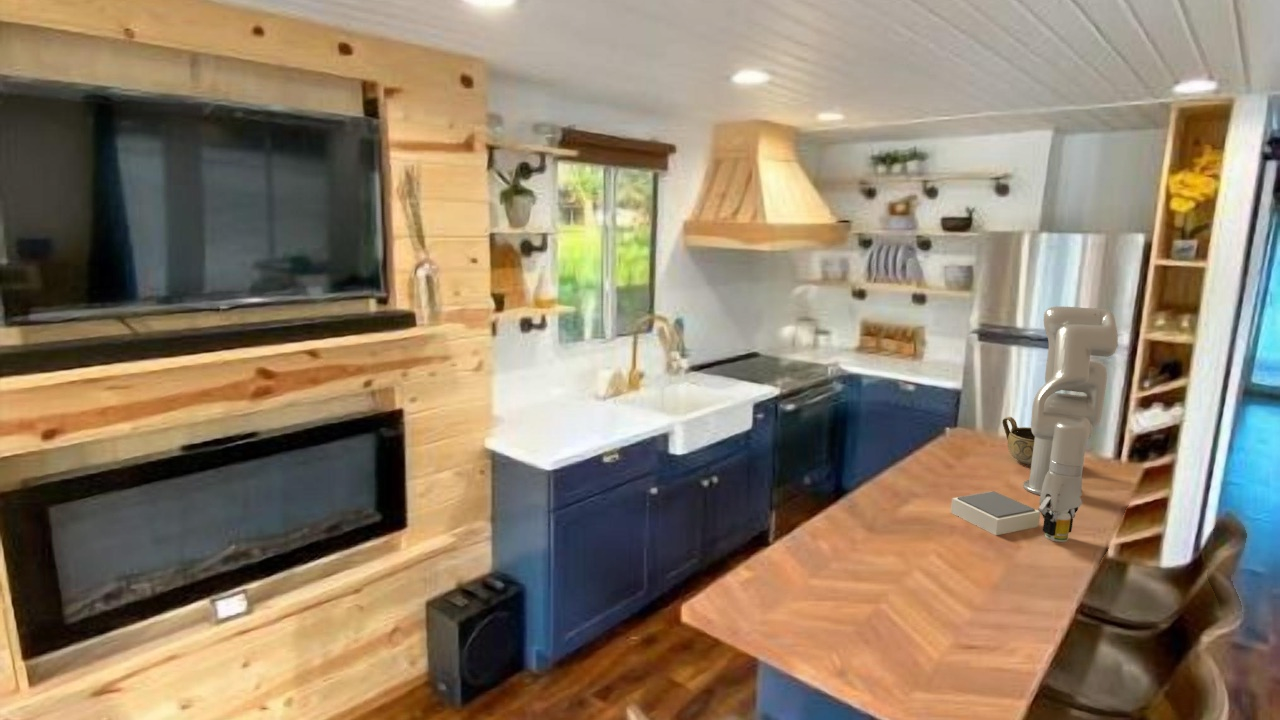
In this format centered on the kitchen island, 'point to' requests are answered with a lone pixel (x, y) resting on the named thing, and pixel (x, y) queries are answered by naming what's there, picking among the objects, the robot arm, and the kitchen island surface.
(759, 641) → the kitchen island surface
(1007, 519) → the plate
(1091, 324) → the robot arm
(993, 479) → the kitchen island surface
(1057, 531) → the supplement bottle
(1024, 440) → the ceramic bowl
